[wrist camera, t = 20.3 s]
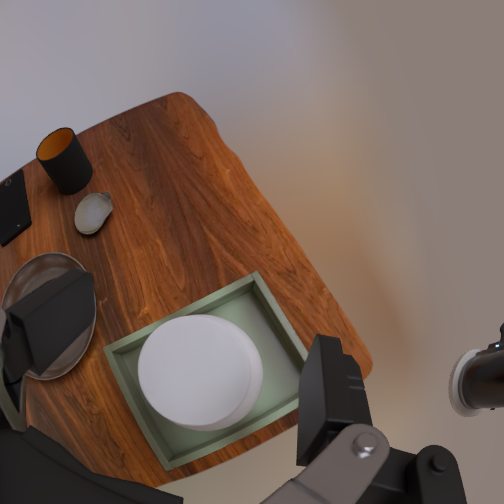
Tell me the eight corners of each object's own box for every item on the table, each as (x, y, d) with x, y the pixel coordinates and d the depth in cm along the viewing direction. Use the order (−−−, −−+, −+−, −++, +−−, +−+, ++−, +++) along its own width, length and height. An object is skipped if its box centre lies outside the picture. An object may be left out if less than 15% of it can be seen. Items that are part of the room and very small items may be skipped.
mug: (91, 145, 54) (75, 110, 45) (94, 185, 49) (73, 148, 40) (59, 160, 52) (40, 127, 43) (58, 200, 48) (33, 167, 38)
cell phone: (23, 170, 51) (21, 168, 50) (32, 223, 45) (30, 221, 44) (-3, 191, 49) (-5, 189, 48) (2, 247, 43) (0, 245, 42)
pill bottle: (222, 430, 19) (208, 473, 9) (158, 381, 20) (93, 376, 10) (271, 368, 21) (301, 355, 11) (206, 321, 23) (182, 269, 13)
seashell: (81, 214, 49) (80, 244, 44) (72, 203, 46) (69, 234, 42) (116, 194, 49) (118, 223, 45) (108, 182, 47) (109, 211, 42)
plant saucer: (21, 258, 42) (12, 250, 39) (112, 259, 43) (104, 250, 40) (5, 368, 34) (-7, 365, 31) (100, 391, 35) (90, 391, 32)
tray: (247, 322, 41) (257, 269, 22) (285, 384, 37) (329, 386, 19) (164, 365, 37) (102, 347, 19) (200, 429, 34) (165, 471, 16)
